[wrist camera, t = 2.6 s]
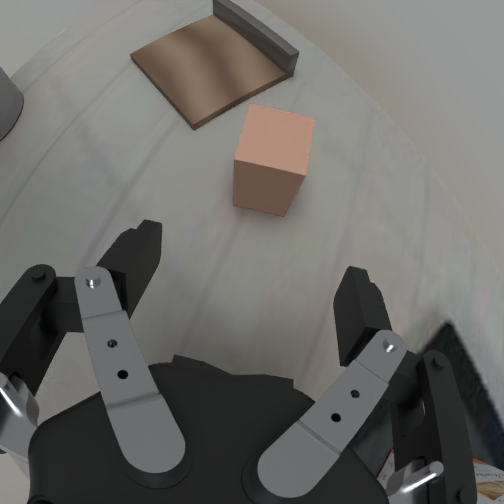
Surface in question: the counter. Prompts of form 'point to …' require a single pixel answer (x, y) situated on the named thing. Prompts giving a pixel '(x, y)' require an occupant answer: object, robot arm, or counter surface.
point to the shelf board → (216, 62)
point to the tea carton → (271, 159)
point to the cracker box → (487, 477)
